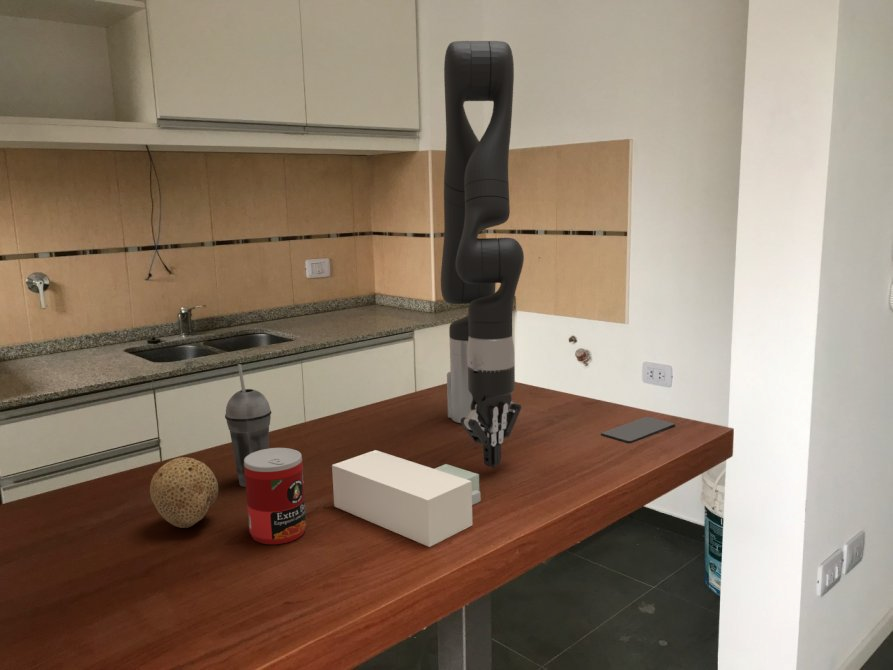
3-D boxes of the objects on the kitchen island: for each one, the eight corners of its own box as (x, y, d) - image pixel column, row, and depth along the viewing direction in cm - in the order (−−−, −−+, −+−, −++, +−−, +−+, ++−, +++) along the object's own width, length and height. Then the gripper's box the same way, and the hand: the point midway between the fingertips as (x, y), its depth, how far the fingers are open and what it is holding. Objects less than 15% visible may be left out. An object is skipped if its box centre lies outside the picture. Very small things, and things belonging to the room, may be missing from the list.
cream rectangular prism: (334, 506, 109) (331, 465, 108) (409, 476, 120) (407, 438, 119) (429, 547, 95) (428, 500, 94) (504, 509, 106) (503, 466, 105)
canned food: (279, 550, 95) (273, 471, 93) (236, 537, 100) (230, 460, 98) (318, 528, 102) (314, 453, 100) (277, 516, 106) (272, 444, 104)
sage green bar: (370, 513, 106) (369, 494, 105) (446, 481, 117) (446, 463, 117) (403, 527, 101) (402, 507, 101) (479, 492, 113) (478, 474, 112)
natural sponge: (184, 508, 109) (178, 445, 108) (234, 515, 106) (228, 450, 105) (140, 534, 101) (133, 466, 99) (193, 543, 98) (186, 472, 96)
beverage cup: (285, 477, 121) (277, 359, 117) (256, 493, 114) (247, 369, 111) (250, 471, 124) (241, 356, 120) (220, 486, 117) (210, 366, 114)
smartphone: (599, 433, 138) (646, 415, 148) (599, 437, 138) (646, 420, 148) (629, 441, 133) (676, 423, 142) (629, 446, 133) (676, 427, 143)
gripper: (499, 353, 124) (500, 449, 128) (445, 367, 115) (448, 471, 118) (534, 359, 119) (535, 459, 122) (481, 374, 110) (482, 482, 113)
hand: (492, 465), depth 120 cm, fingers closed
